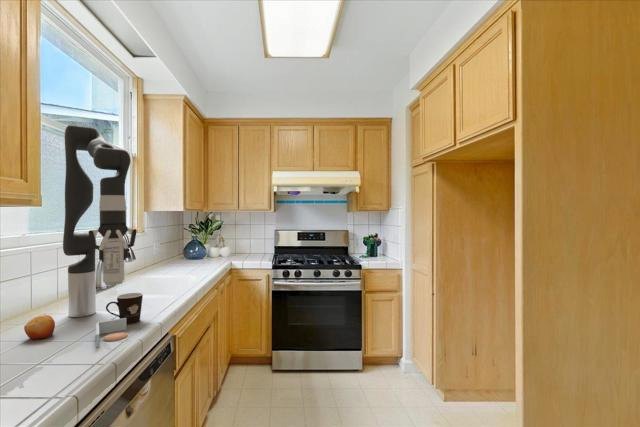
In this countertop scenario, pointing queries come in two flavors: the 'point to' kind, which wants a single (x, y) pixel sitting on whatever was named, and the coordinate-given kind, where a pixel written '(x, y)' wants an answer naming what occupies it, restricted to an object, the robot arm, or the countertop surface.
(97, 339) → the acrylic fence
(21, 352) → the countertop surface
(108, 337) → the pad
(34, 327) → the fruit
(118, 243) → the energy drink can
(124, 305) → the coffee mug
